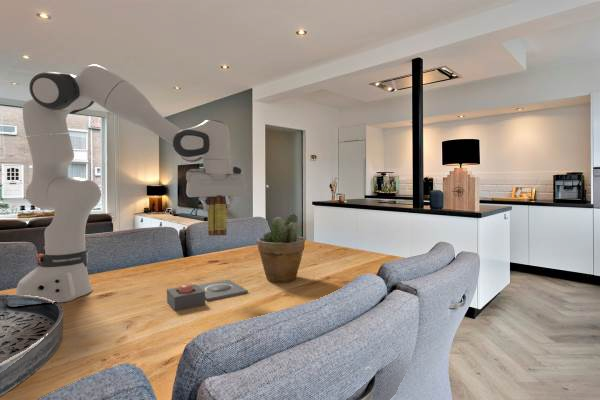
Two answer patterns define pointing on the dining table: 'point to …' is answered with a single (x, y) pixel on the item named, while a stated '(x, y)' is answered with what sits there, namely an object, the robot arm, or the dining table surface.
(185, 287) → the button
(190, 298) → the button housing
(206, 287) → the grey square plate
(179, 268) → the dining table surface
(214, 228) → the sauce bottle
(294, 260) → the potted plant
